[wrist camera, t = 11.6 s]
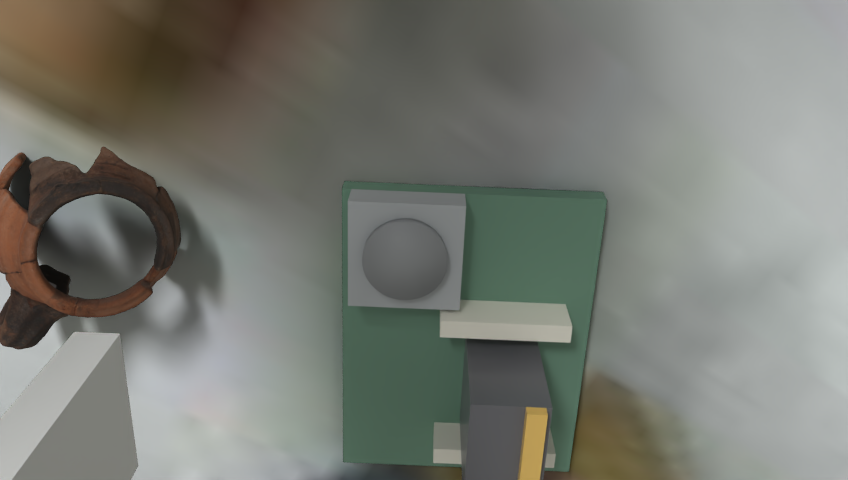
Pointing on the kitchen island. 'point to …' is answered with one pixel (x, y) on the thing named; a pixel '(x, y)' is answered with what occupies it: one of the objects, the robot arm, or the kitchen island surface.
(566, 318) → the header board
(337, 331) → the kitchen island surface
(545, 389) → the plug
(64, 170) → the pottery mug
